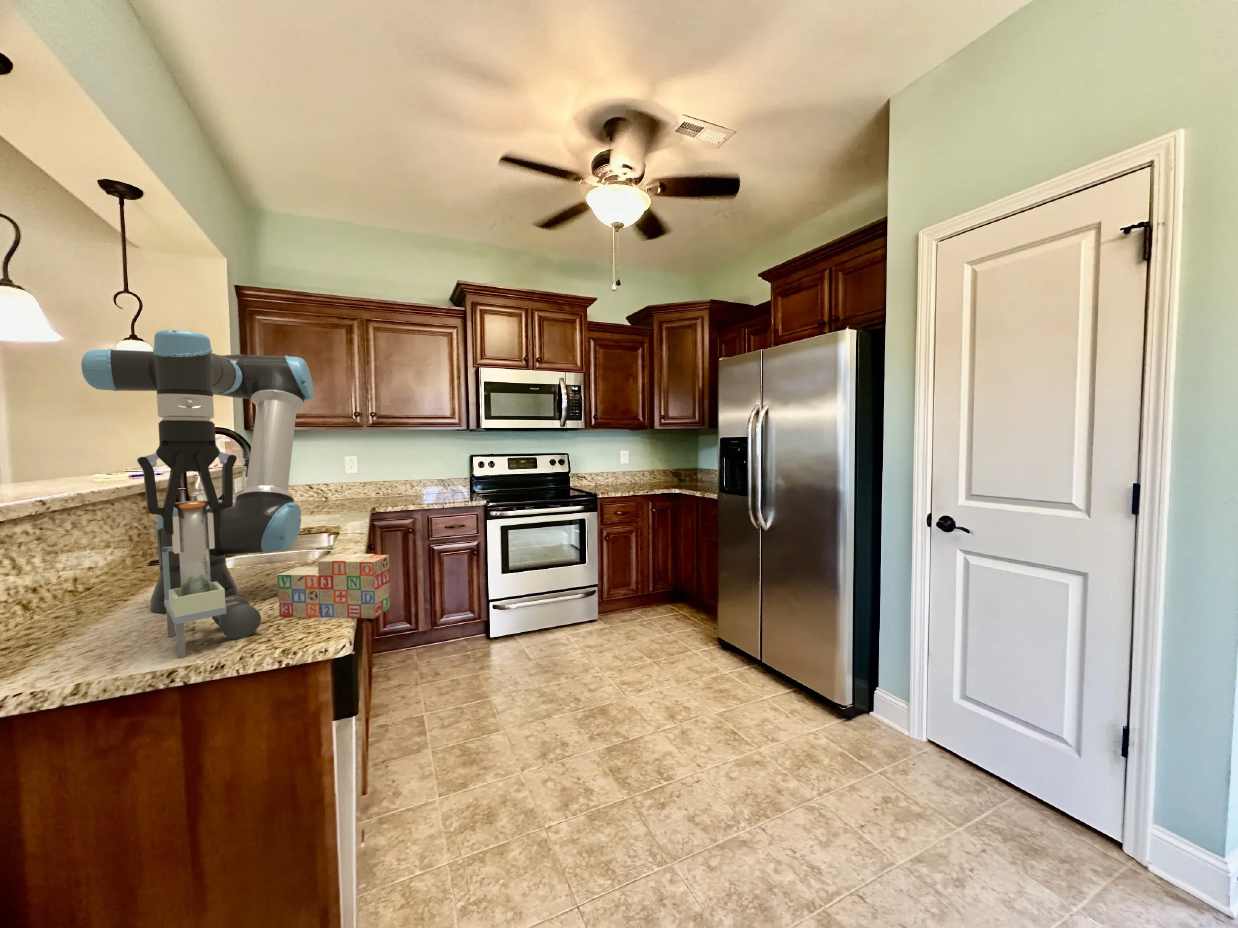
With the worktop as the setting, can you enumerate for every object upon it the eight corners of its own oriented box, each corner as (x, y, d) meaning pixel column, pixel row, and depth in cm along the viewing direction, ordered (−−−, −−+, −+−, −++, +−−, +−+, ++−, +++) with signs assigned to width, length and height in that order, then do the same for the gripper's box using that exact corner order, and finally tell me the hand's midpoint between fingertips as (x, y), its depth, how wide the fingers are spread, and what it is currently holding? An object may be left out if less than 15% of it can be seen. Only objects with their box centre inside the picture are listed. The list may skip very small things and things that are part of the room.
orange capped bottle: (177, 594, 88) (172, 502, 87) (210, 588, 91) (205, 499, 90) (181, 600, 85) (176, 504, 84) (215, 593, 88) (210, 501, 87)
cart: (166, 635, 93) (161, 547, 93) (246, 617, 103) (242, 537, 102) (176, 658, 83) (170, 559, 83) (264, 636, 93) (260, 547, 92)
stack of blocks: (278, 617, 103) (275, 560, 102) (299, 607, 109) (297, 553, 109) (375, 618, 102) (373, 560, 101) (391, 608, 108) (389, 553, 107)
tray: (169, 607, 88) (168, 589, 88) (217, 598, 93) (216, 581, 93) (175, 617, 83) (173, 598, 83) (225, 607, 88) (224, 589, 88)
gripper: (119, 417, 78) (128, 562, 79) (250, 420, 90) (256, 544, 91) (117, 419, 83) (125, 555, 84) (241, 421, 95) (247, 539, 96)
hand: (194, 549), depth 88 cm, fingers closed on orange capped bottle, 4 cm apart
